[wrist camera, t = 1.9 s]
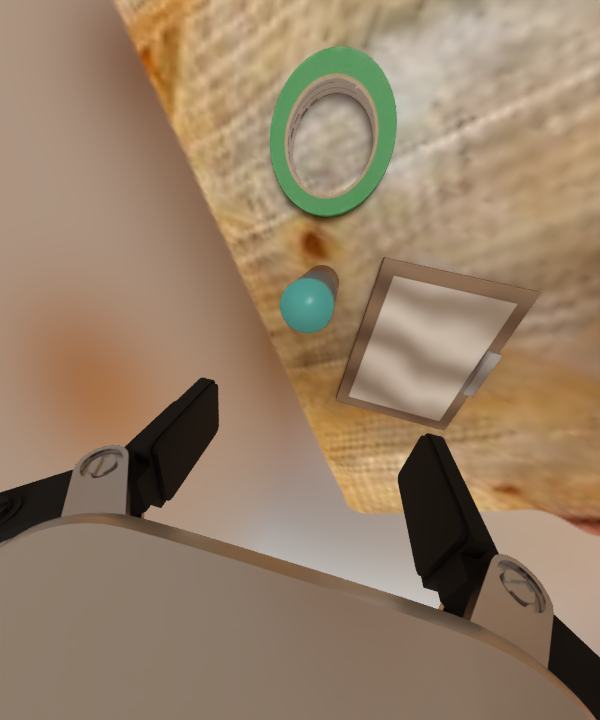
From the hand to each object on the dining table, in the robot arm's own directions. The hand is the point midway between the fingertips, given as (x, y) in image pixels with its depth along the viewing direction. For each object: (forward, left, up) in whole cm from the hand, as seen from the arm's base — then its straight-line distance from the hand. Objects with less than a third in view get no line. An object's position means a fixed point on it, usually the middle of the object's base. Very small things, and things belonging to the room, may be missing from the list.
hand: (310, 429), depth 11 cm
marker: (-3, -2, -21) cm, 22 cm away
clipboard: (+3, +12, -21) cm, 25 cm away
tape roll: (-15, -4, -22) cm, 27 cm away
